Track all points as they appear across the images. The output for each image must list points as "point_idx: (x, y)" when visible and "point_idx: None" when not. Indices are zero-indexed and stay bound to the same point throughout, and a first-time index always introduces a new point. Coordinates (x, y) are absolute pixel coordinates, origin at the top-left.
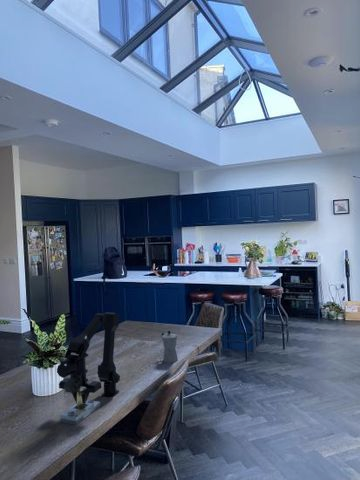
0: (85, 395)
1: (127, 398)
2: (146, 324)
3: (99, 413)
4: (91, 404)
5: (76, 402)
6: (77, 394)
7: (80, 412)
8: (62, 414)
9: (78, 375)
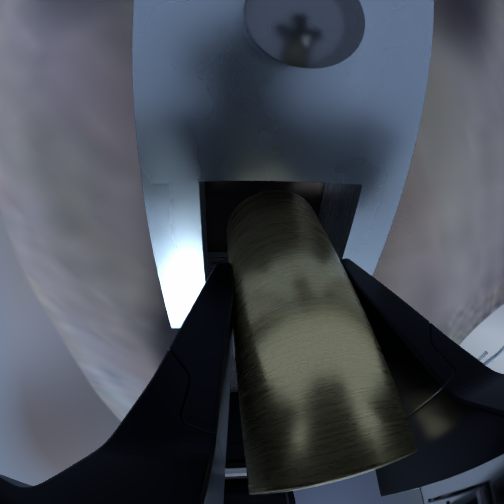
0: (127, 421)
1: (111, 391)
2: None
3: (93, 249)
4: (181, 311)
5: (354, 270)
6: (372, 407)
7: (166, 97)
8: (415, 7)
9: None
